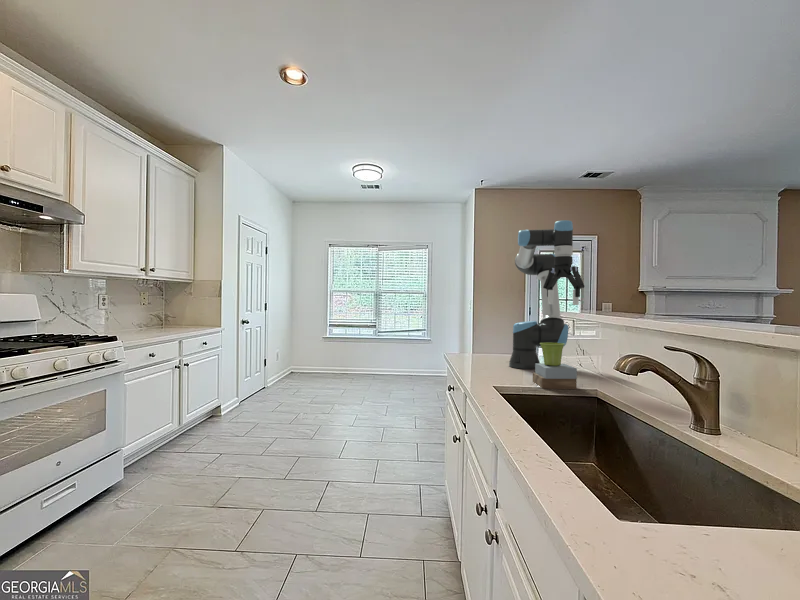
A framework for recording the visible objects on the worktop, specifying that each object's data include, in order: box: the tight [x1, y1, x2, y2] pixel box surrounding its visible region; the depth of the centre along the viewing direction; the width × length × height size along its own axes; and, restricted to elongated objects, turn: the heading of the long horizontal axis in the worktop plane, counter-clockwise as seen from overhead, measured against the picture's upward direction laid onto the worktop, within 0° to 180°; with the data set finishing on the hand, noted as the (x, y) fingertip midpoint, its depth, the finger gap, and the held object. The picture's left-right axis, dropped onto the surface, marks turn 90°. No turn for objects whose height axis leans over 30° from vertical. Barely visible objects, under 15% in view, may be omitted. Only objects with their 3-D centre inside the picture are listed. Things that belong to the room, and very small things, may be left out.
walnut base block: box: [532, 372, 578, 390], centre depth 166 cm, size 13×13×4 cm
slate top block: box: [534, 362, 578, 380], centre depth 165 cm, size 12×12×4 cm
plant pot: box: [540, 343, 566, 366], centre depth 166 cm, size 9×9×9 cm
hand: (562, 304), depth 182 cm, fingers open, 13 cm apart
